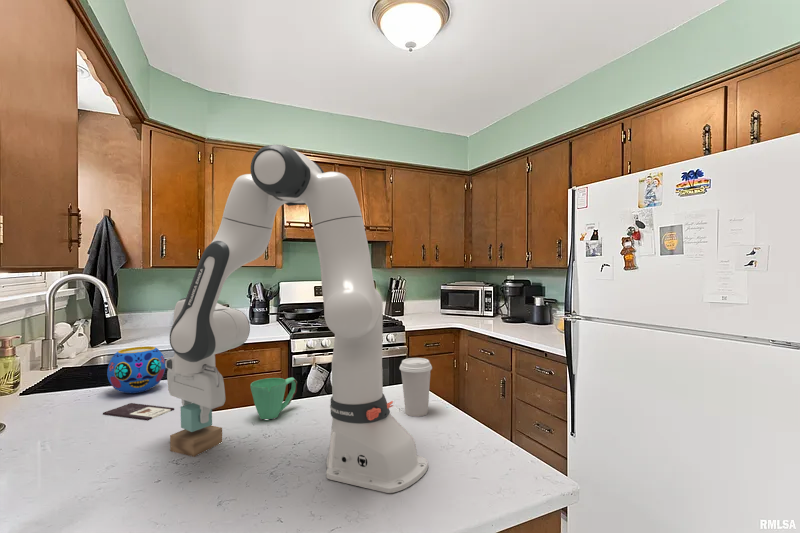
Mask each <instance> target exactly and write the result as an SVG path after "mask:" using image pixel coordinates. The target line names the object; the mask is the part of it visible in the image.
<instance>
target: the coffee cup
mask: <svg viewBox="0 0 800 533" xmlns="http://www.w3.org/2000/svg"><path fill="white" fill-rule="evenodd" d="M399 370H400V373H401V382H402V383H401V384H402V391H403V392H402V393H403V400H404V401H403V402H404V410H405V414H406V416H409V417H413V418H414V417H415V418H419V417H424V416H427V415H428V413H429V403H430V402H429V400H430V386H431V385H430V383H431V371H432V370H433V366H432V364H431V361H430V359H428V358H424V357H423V358H422V357H409V358H405V359H402V360H401V363H400V365H399Z"/></svg>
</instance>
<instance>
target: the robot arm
mask: <svg viewBox="0 0 800 533" xmlns="http://www.w3.org/2000/svg"><path fill="white" fill-rule="evenodd" d="M359 202H360V201H359V200H358V196H357V194H356V191H355V188H354V186H353V184H352V182H351V180H350V178H349V177H348V176H347V174H344V173H342V172H339V171H327V172H325V171H324V170H323V169H322V167H321V166H320V165H319V164H318V163H316V162H315V161H313V160H312V159H310V158H309V157H308V156H307V155H305V154H303V153H302V152H299V151H298V150H295V149H292V148H290V147H288V146H286V145H281V144H268V145H265V146H263V147H261V148H259V149H258V150H257V151H256V153H255V154H254V155H253V157H252V159H251V162H250V173H245V174H241V175H239V176H238V177H237V178H236V179H235V181H234V182H233V184H232V186H231V189H230V192H229V195H228V197H227V199H226V203H225V205H224V206H225V207H224V209H223V214H222V218H221V222H220V225H219V228H218V230H217V233H216V235H215V236H214V238H213V239H212V241H211V243H210V244H208V245H207V246H206V248H205V249H204V251H203V253H202V255H201V257H200V259H199V261H198V265H197V267H196V269H195V273H194V275H193V277H192V280H191V283H190V285H189V286H190V287H189V289H188V292H187V294H186V297H183V298H181V299H179V300H178V301H177V302H176V303H175V306H174V311H173V319H172V320H173V324H172V326H171V329H170V331H169V345H170V347H171V349H172V350H173V356H172V357H170V358H167V359H165V366H166V368H165V369H167V373H166V378H167V379H166V382H167V390H168V393H169V395H170V396H171V397H174V398H176V399H180V400H181V405H182V406H185V405H188V404H192V403H194V404H197V405H200V409H201V413H200V415H198V419H199V420H198V421H199V422H200V423H206V422H208V421H209V413H210V410H211V409H212V410H213V409H216V408H219V407H222V406H224V404H225V402H226V390H225V382H224V377H223V375H222V374H221V373H220V371H219V370H218V368H217V367H216V354H217V355H218V354H221V353H224V352H227V351H228V350H232V349H235V348H238V347H240V346H242V345H244V344H245V342H247V340H248V338H249V335H250V332H251V331H250V330H251V327H250V325H251V324H250V322H249V319H248V317H247V315H246V314H245V313H244V312H243V311H242V310H239V309H234V308H231V307H228V306H225V305H222V304H221V303H219V302H218V301H219V298H220V295H221V292H222V289H223V286H224V284H225V282H226V280H227V279H228V278H229V276H230V275H232V274H233V273H234V272H235V271H236V270H238V269H239V268H242V266H244V265H246V264H247V265H248V264H249V263H251V262H253V261H255V260H257V259H258V258H260V257H261V256H262V255H263V254H264V253H265V252H266V250H267V249H268V246H269V245H270V244H269V243H270V241H271V239H272V238H271V237H272V232H273V228H274V223H275V222H274V221H275V217H276V214H277V212H278V210H279V208H281V206H283V205H286V206H288V207H291V206H304V205H305V206H306V207H307V208H308V211H309V215H310V219H311V225H312V229H313V234H314V239H315V245H316V249H317V255H318V258H319V259H318V260H319V266H320V277H321V278H320V280H321V281H320V282H321V290H322V291H321V293H322V299H323V309H324V311H323V312H324V313H323V314H324V315H323V316H324V321H325V323H326V326H327V327H328V329H329V331H331V332H332V333H333V334H334V339H333V340H334V341H333V351H332V357H331V387H332V388H331V391H332V395H331V397H330V405H329V409H330V416H331V417H332V419H331V420H332V422H331V432H330V440H329V441H330V442H329V449H328V453H327V457H326V462H325V464H326V465H325V466H326V467H327V469H326V473H325V477H326V479H327V480H331V481H335V482H338V483H343V484H347V485H352V486H357V487H361V488H365V489H369V490H373V491H377V492H381V493H387V494H393V493H397V492H400V491H403V490H405V489H407V488H409V487H410V486H413V484H415V483H416V482H418V481H419V480H420V479H421V478H422V477H423V476H424V475H425V474H426V472H427V470H428V468H429V463H428V459H427V458H424V457H423V456H421V455H418V452H417V451H418V450H417V446H416V441H415V439H414V436H413V435H412V434H411V433H409V432H408V430H406V428H405V427H404V426H403V425H402V424H401V423H400V422H399V421H398V420H397V419H396V418H395V417H394V416H393V415H392V414H391V411H390V408H392V407H394V404H393V403H394V400H391V401H390V402H387V398H386V396H385V393H384V391H383V390H384V389H383V388H384V387H383V333H384V332H383V328H384V326H383V324H384V323H383V321H384V318H383V317H384V316H383V315H384V314H383V312H384V311H383V305H384V303H383V299H382V296H381V294H380V292H379V291H378V290H377V288H376V287H375V283H374V282H375V280H374V277H373V276H374V275H373V270H372V268H373V267H372V261H371V260H372V259H371V253H370V252H371V251H370V248H369V243H368V239H367V235H366V234H367V233H366V228H365V223H364V219H363V215H362V214H363V213H362V210H361V206H360V203H359Z"/></svg>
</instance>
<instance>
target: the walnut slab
mask: <svg viewBox="0 0 800 533" xmlns="http://www.w3.org/2000/svg"><path fill="white" fill-rule="evenodd" d="M169 437H170V438H169V440H170V442H169V444H170V445H169V446H170V450H169V451H170V452H173V453H177V454H181V455H185V456H189V457H193V458H195V457H197V456H199V455H201V454H203V453H205V452H207V451H209V450H211V449H213V448H215V447H216V445H217V446H219V445H220V444H219V443H221V442H222V443H223V427H221V426H216V425H210V426H208V427H205V428H202V429H199V430H196V431H193V432H190V431H188V430H186V429H182V430H180V431H179V430H178V431H177V432H175V433H172V434H171V435H170V436H169ZM222 443H221V444H222ZM218 444H219V445H218ZM214 446H215V447H214ZM212 447H213V448H212ZM208 449H209V450H208ZM206 450H207V451H206ZM204 451H205V452H204ZM202 452H203V453H202ZM200 453H201V454H200ZM198 454H199V455H198ZM196 455H197V456H196Z"/></svg>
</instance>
